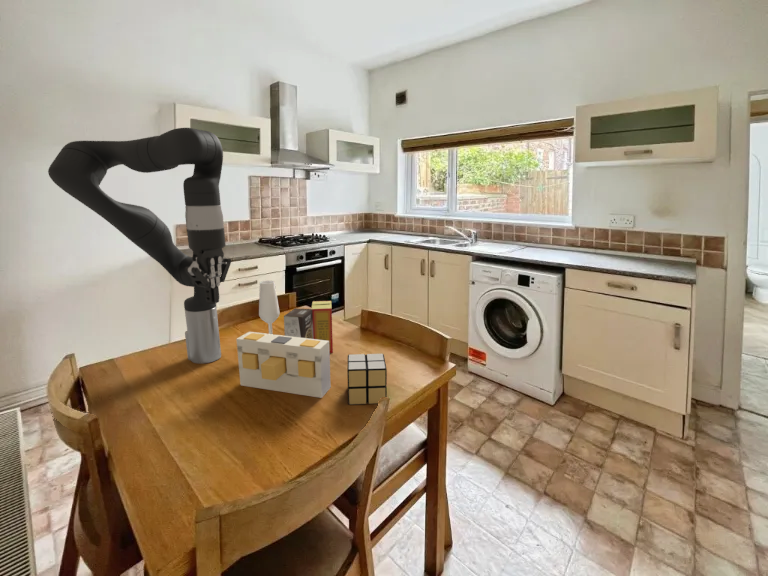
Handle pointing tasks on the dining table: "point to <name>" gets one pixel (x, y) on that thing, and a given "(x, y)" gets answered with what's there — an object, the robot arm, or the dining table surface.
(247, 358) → the button
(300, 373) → the button
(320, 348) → the block
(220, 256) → the robot arm
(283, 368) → the button
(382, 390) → the puzzle cube
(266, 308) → the champagne flute
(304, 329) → the coffee box
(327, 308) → the baking soda box
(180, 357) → the dining table surface
